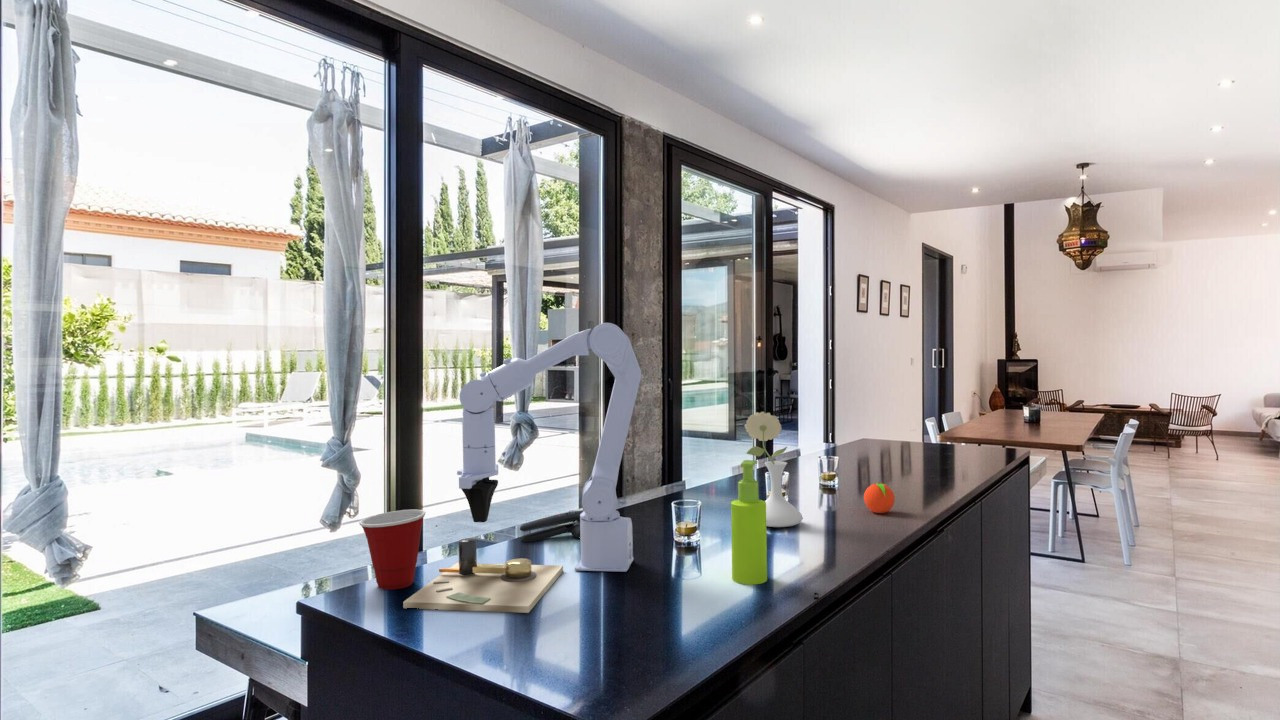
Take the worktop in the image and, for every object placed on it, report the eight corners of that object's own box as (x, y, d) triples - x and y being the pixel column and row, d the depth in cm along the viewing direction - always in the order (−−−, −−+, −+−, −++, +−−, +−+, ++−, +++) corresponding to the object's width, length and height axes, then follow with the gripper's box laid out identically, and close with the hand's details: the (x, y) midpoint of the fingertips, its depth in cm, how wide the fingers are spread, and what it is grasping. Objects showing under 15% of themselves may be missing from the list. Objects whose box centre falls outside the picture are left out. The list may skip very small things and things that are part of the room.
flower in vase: (810, 522, 166) (808, 410, 166) (791, 533, 157) (790, 415, 156) (756, 516, 173) (754, 408, 173) (735, 526, 164) (733, 413, 163)
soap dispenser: (770, 573, 129) (769, 458, 129) (764, 585, 123) (762, 465, 123) (737, 570, 131) (735, 457, 131) (728, 582, 125) (727, 463, 125)
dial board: (563, 571, 133) (563, 564, 133) (528, 612, 112) (528, 604, 112) (456, 568, 136) (456, 561, 136) (403, 608, 115) (403, 600, 115)
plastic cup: (375, 575, 133) (373, 507, 132) (435, 574, 132) (434, 507, 132) (349, 595, 122) (347, 522, 122) (415, 594, 121) (413, 521, 121)
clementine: (900, 517, 170) (900, 486, 170) (870, 517, 170) (869, 486, 170) (889, 509, 178) (889, 479, 178) (860, 509, 178) (859, 480, 178)
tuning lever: (534, 570, 129) (534, 538, 129) (527, 578, 124) (526, 545, 124) (445, 567, 131) (444, 536, 131) (434, 575, 127) (433, 543, 127)
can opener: (596, 530, 164) (596, 504, 164) (606, 537, 157) (606, 510, 157) (516, 538, 157) (515, 512, 157) (523, 546, 151) (522, 519, 151)
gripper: (472, 441, 142) (473, 512, 142) (441, 451, 128) (442, 530, 128) (508, 441, 141) (509, 512, 141) (480, 452, 127) (482, 531, 127)
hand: (480, 521), depth 135 cm, fingers closed
